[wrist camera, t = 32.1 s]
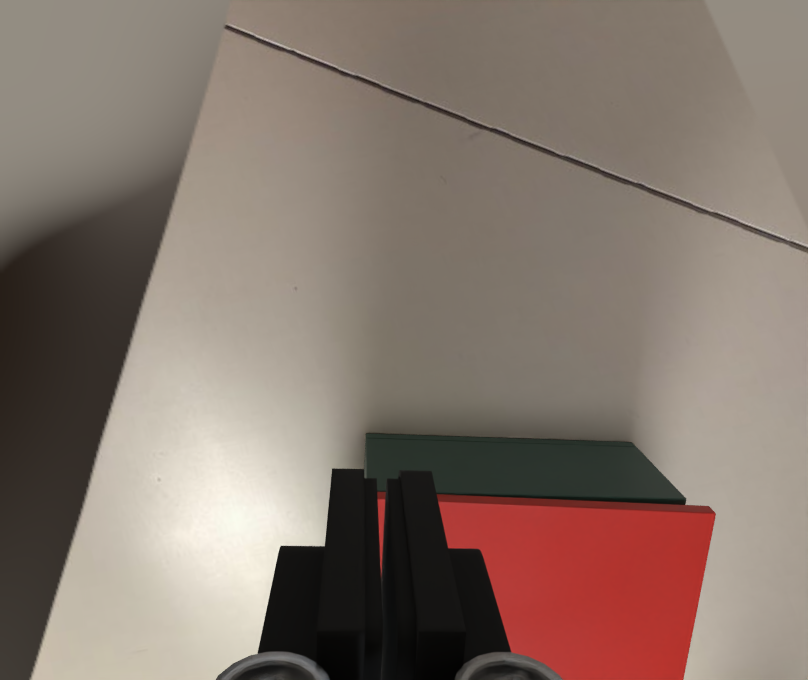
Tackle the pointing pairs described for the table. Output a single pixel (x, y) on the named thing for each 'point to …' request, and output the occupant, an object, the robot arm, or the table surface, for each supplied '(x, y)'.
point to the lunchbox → (522, 468)
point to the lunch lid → (588, 579)
